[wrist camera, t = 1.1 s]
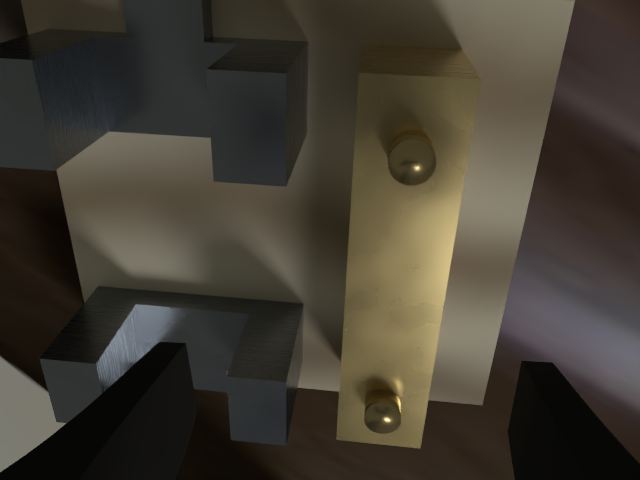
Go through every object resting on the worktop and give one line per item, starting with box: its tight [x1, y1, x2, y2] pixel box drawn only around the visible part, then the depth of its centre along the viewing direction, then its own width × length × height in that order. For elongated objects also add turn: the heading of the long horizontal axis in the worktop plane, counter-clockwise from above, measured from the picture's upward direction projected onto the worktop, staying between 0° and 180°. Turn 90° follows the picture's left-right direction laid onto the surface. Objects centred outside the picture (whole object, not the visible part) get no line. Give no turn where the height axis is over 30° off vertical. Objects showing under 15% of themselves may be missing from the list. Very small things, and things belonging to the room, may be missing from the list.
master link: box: [336, 44, 481, 448], centre depth 19 cm, size 13×3×5 cm, turn 178°
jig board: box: [21, 0, 575, 405], centre depth 21 cm, size 16×17×1 cm
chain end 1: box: [0, 0, 309, 187], centre depth 17 cm, size 4×8×4 cm, turn 88°
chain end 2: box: [40, 286, 304, 446], centre depth 22 cm, size 4×8×4 cm, turn 88°
